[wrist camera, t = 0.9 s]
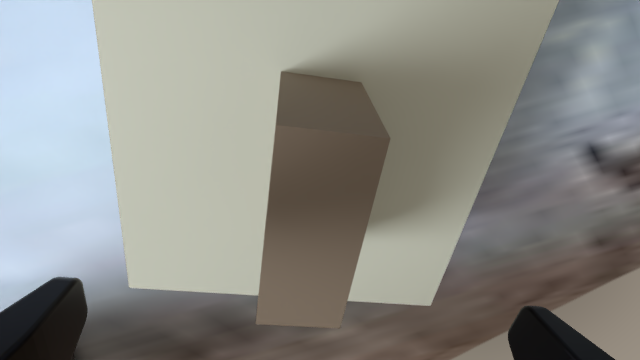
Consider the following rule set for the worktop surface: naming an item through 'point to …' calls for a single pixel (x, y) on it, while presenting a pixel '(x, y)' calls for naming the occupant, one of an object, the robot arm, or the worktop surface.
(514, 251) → the worktop surface
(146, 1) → the lid
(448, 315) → the worktop surface
